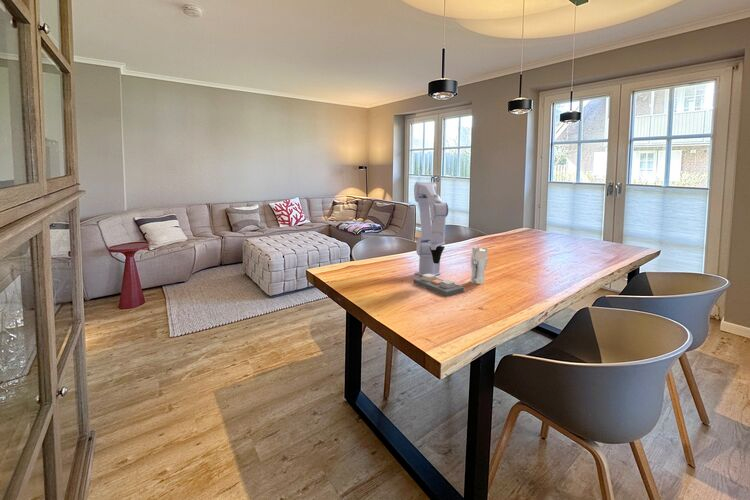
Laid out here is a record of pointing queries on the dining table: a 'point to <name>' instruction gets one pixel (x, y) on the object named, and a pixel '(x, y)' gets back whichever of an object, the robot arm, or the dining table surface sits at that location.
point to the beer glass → (478, 265)
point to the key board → (438, 287)
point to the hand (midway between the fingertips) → (436, 263)
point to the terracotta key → (436, 282)
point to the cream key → (428, 277)
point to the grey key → (447, 284)
